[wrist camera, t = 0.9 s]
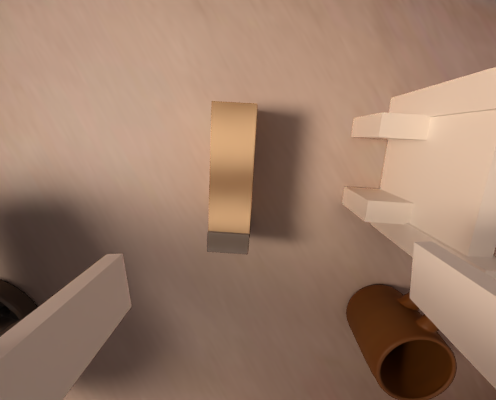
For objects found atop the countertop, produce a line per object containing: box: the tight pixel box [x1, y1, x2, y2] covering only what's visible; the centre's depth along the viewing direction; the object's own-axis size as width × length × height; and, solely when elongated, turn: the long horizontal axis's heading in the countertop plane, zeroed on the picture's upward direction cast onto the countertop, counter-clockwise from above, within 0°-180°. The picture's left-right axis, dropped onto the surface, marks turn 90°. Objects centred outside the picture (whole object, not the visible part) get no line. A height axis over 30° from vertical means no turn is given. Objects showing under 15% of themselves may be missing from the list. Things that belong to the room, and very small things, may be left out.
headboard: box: [342, 67, 496, 279], centre depth 23 cm, size 6×14×16 cm, turn 177°
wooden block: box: [207, 101, 258, 254], centre depth 28 cm, size 14×4×6 cm, turn 177°
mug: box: [346, 285, 457, 400], centre depth 29 cm, size 12×8×9 cm, turn 159°
